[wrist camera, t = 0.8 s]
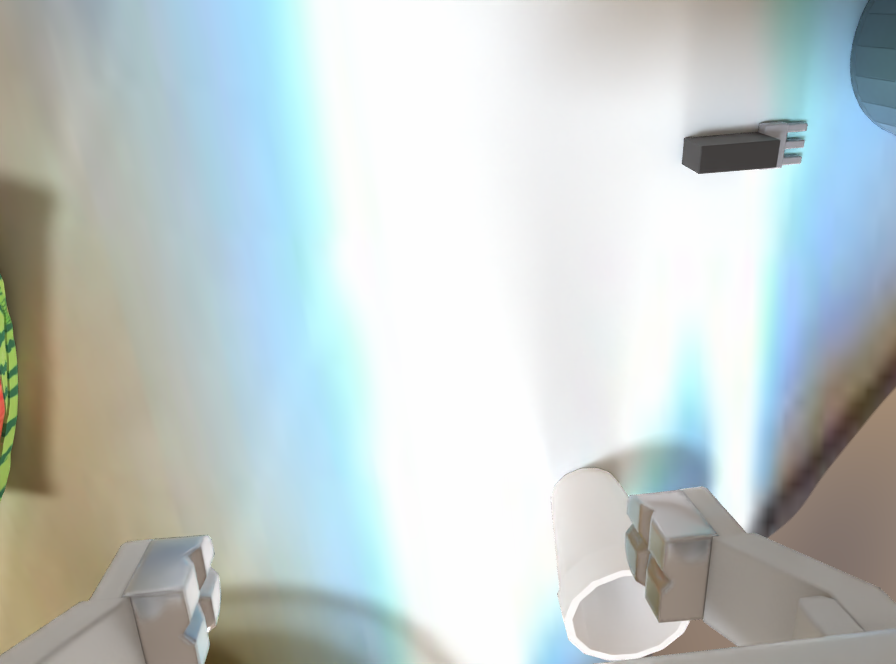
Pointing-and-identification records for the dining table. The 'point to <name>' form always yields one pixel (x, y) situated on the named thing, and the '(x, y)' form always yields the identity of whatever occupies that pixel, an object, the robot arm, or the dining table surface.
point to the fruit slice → (7, 389)
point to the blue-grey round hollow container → (876, 63)
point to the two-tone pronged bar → (744, 149)
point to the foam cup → (601, 571)
